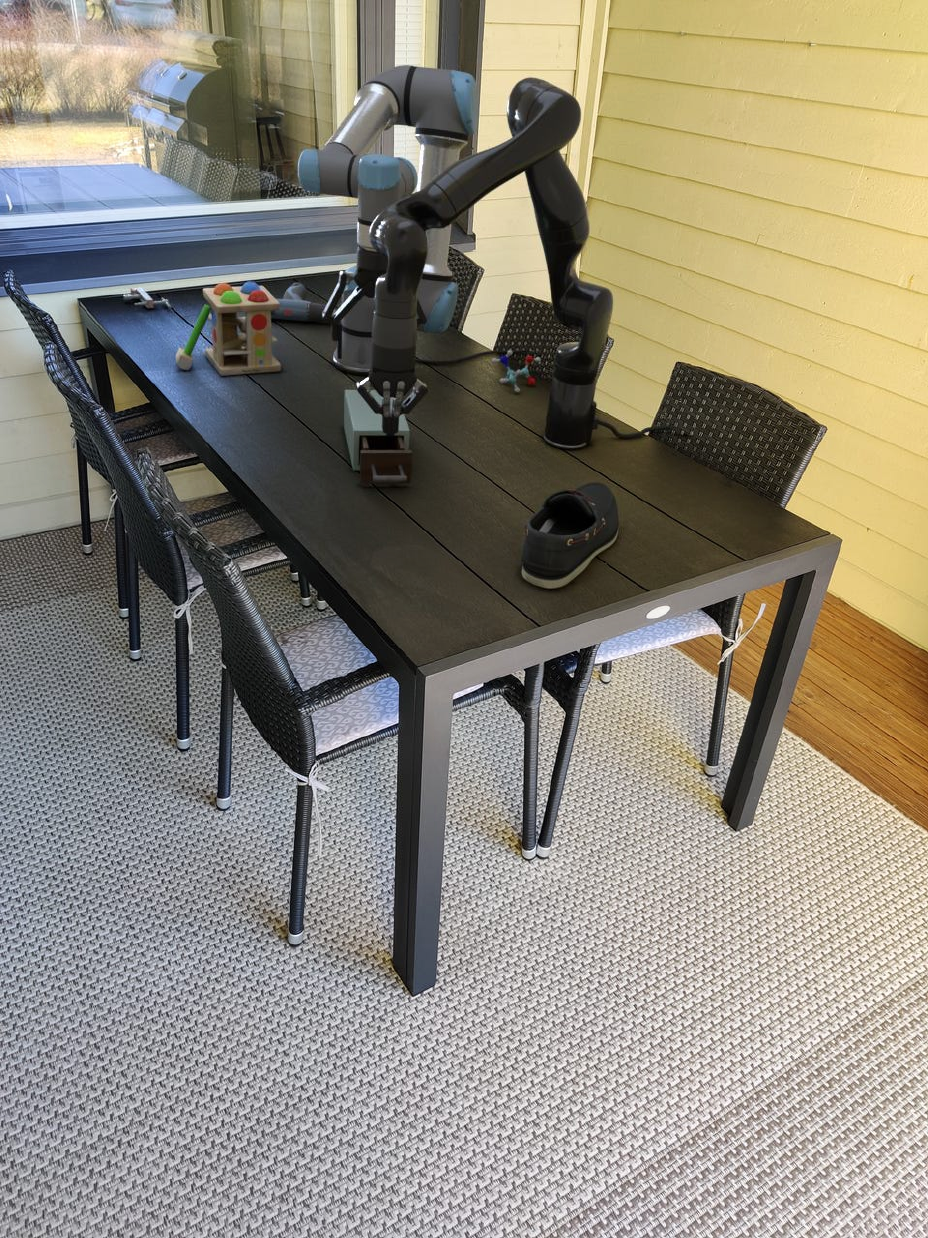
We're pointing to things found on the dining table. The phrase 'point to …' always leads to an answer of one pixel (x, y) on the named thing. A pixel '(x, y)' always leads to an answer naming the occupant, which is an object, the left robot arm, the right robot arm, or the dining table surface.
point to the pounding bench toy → (229, 347)
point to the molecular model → (511, 373)
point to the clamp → (144, 298)
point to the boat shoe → (568, 534)
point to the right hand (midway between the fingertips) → (390, 434)
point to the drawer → (384, 460)
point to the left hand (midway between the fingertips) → (373, 357)
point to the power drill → (298, 306)
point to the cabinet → (366, 423)
